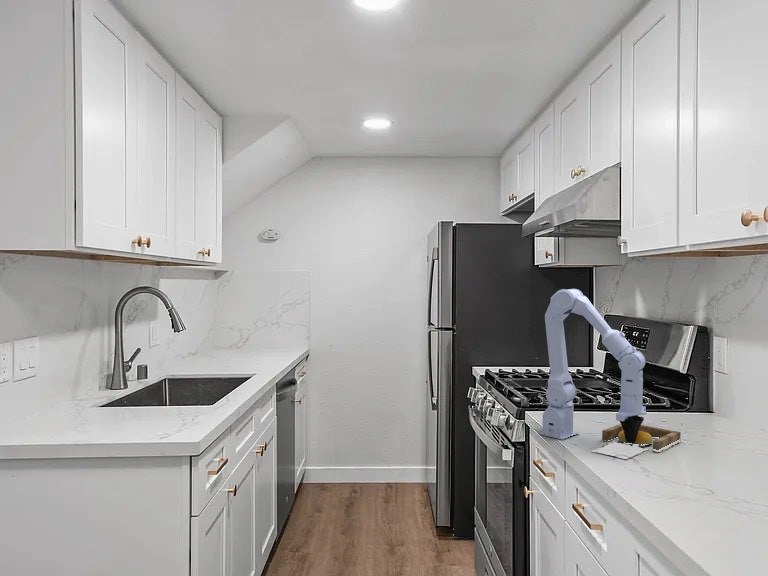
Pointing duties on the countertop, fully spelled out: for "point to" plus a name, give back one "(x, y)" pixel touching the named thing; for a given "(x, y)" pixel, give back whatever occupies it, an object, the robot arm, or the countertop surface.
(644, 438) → the bread roll
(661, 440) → the frame
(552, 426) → the robot arm
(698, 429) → the countertop surface
